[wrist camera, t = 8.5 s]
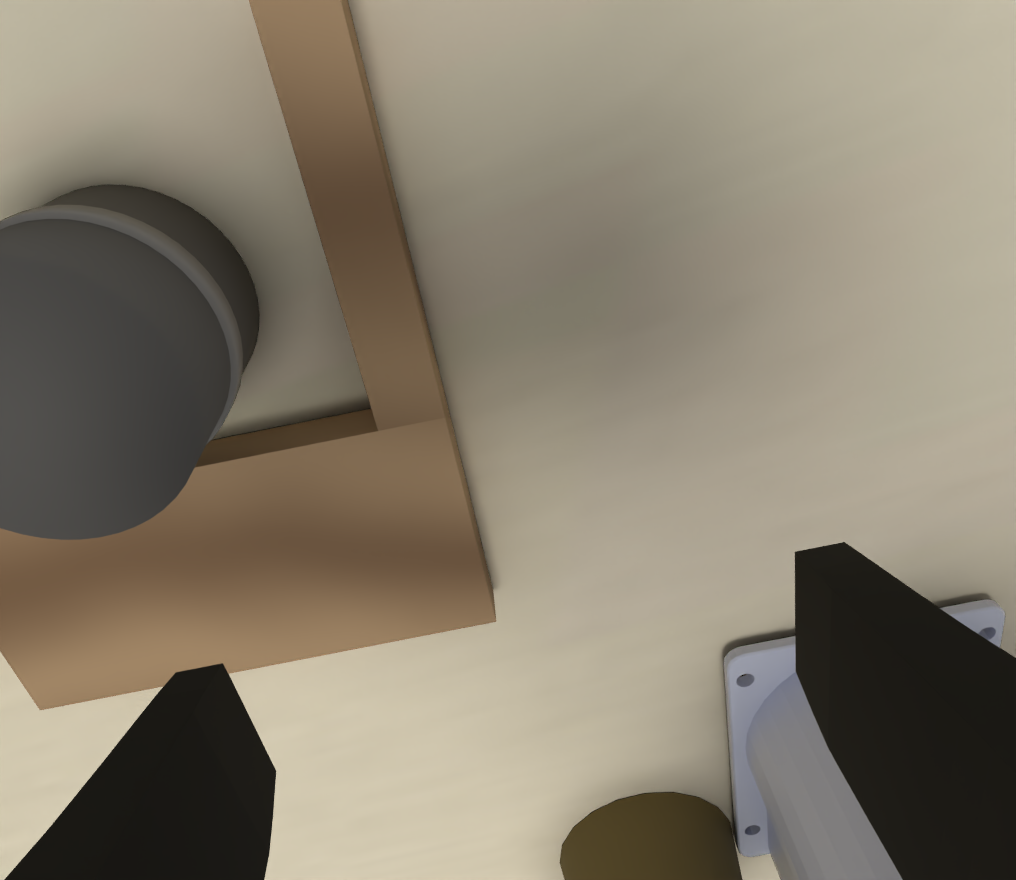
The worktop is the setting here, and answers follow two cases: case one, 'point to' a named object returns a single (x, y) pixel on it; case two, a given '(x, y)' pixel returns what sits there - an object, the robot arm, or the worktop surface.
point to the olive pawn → (652, 841)
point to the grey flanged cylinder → (113, 357)
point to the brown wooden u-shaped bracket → (282, 462)
